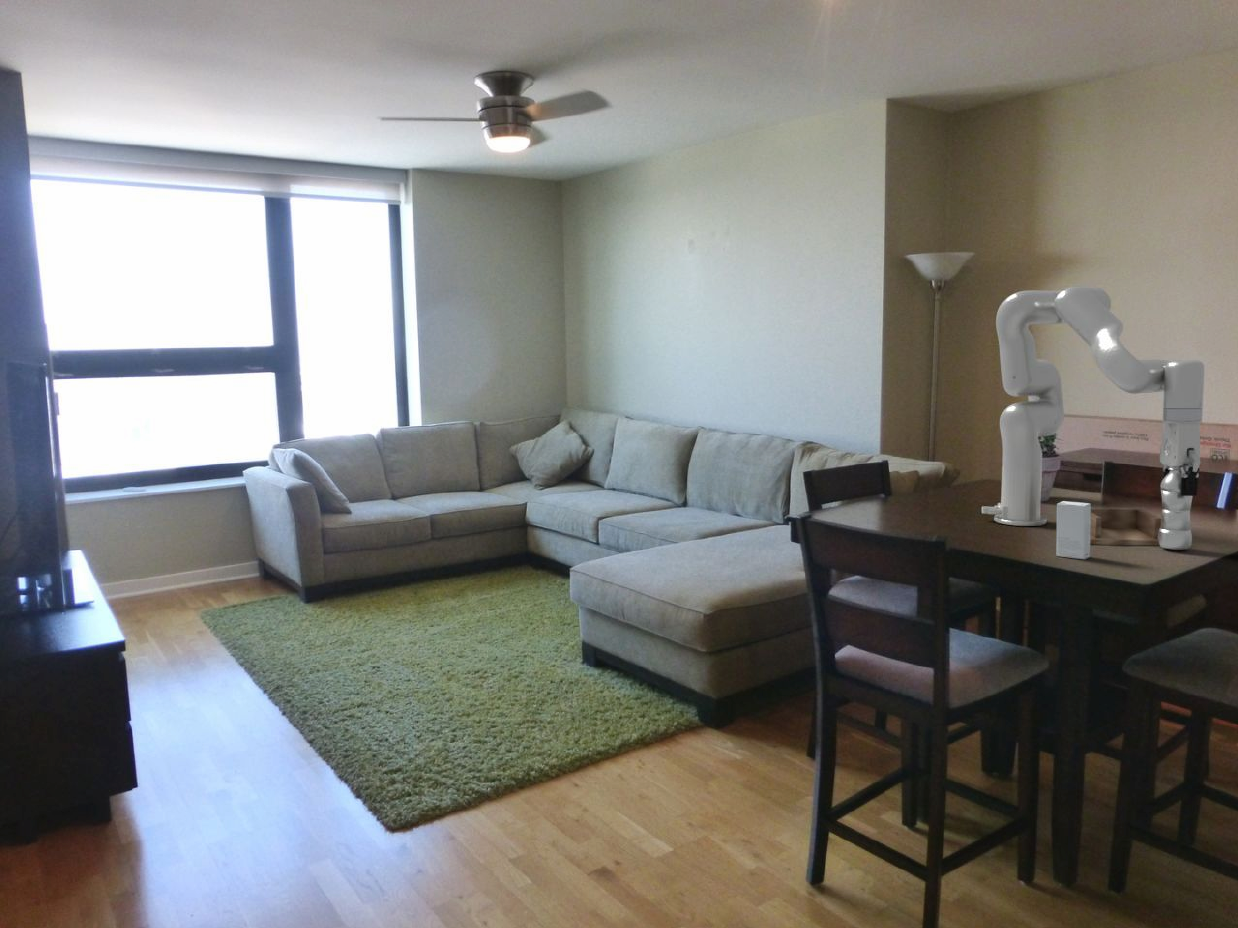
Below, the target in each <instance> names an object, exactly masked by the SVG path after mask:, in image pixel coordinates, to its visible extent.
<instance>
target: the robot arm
mask: <svg viewBox="0 0 1238 928" xmlns="http://www.w3.org/2000/svg"><path fill="white" fill-rule="evenodd" d="M1111 307H1112V301H1111V298H1110V295H1109V294H1108V292H1106V290H1105V289H1103V288H1100V287H1097V286H1083V285H1082V286H1077V285H1076V286H1071V287H1070V286H1069V287H1067V288H1065V289H1063V290H1036V289H1034V290H1033V289H1032V290H1031V289H1030V290H1022V291H1017V292H1015V293H1011V294H1010V295H1009V296H1007V297H1006V298H1005V299H1004V300H1003V302H1001V304H1000V306H999V308H998V310H997V313H996V319H995V327H996V332H997V333H996V334H997V339H998V344H999V356H1000V357H999V358H1000V368H1001V369H1000V370H1001V379H1002V387H1003V390H1004V392H1005V393H1007V394H1008V395H1009V396H1011V397H1019V398H1020V397H1021V398H1023V397H1024V398H1025V397H1028V401H1020V402H1014V403H1012V404H1009V405H1008V406H1007V407H1006V408H1004V410H1003V411H1002V413H1001V415H1000V418H999V429H1000V437H1001V445H1002V465H1001V466H1002V467H1001V490H1000V491H1001V493H1000V494H1001V498H1000V502H998V503H997V505H996V504H995V505H994V506H989V505H988V506H986V505H985V506H982V505H981V514H988V515H994V516H993V520H994V521H995V523H999V524H1003V525H1008V526H1017V527H1018V526H1019V527H1035V526H1036V527H1037V526H1044V525H1045V524H1047V518H1046V517H1044V516H1042V515H1041V502H1042V501H1041V479H1042V450H1041V446H1040V443H1039V440H1038V437H1043V436H1050V435H1053V434H1054V435H1056V434H1057V433H1058V432H1059V431H1060V430H1061V428H1062V426H1063V424H1064V417H1065V413H1064V411H1065V410H1064V400H1063V386H1062V378H1061V375H1060V372H1059V370H1058V368H1057V367H1056V365H1055V364H1054V363H1052V362H1051V361H1049V360H1046V359H1038V358H1037V353H1036V343H1035V342H1036V341H1035V338H1034V336H1033V334H1032V332H1031V331H1030V329H1029V326H1030V325H1055V324H1056V325H1058V324H1067V326H1069V328H1071V330H1073V331H1074V333H1076V334H1077V335H1078V336H1079V337H1080V338H1081V339H1082V340H1083V341H1084V342H1085V343H1086V344H1087V345H1088V346H1089V347H1090V348H1091V351H1092V357H1093V359H1094V361H1095V364H1096V365H1097V367H1098V369H1099V370H1100V371H1101V373H1103V375H1105V377H1106V378H1107V379H1109V380H1110V381H1111V382H1112V384H1114V385H1115V386H1116V387H1117V388H1118V389H1120V390H1122V391H1123V392H1125V393H1128V394H1133V395H1134V394H1135V395H1136V394H1153V393H1161V392H1163V400H1162V401H1163V406H1162V423H1163V427H1162V432H1161V440H1160V450H1159V462H1160V464H1162V465H1163V466H1162V480H1163V479H1164V478H1165V477H1166V476H1167V475H1168V474H1169V472H1170V470H1168V468H1169V467H1173V468H1178V467H1179V466H1180V468H1181V471H1182V475H1183V477H1181V486H1180V495H1182V496H1194V497H1195V496H1197V495H1198V485H1199V484H1198V483H1199V476H1200V475H1199V472H1200V471H1201V470H1200V465H1201V433H1200V432H1201V429H1200V428H1201V427H1200V424H1202V423H1203V412H1204V411H1203V409H1204V391H1205V390H1204V388H1205V384H1204V383H1205V364H1204V363H1203V361H1200V360H1195V359H1192V360H1191V359H1189V360H1187V359H1181V360H1166V359H1138V358H1136V357H1135V356H1134V355H1133V354H1132V353H1131V352H1130V351H1129V350H1127V348H1126V347H1125V346H1124V345H1123V344H1122V342H1121V341H1120V336H1121V335H1122V333H1123V330H1124V324H1123V322H1122V321H1121V320H1120V319H1119V318H1118V317H1117V316H1116V315H1114V313H1113V312H1111ZM1186 469H1188V470H1187V471H1186Z"/></svg>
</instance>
